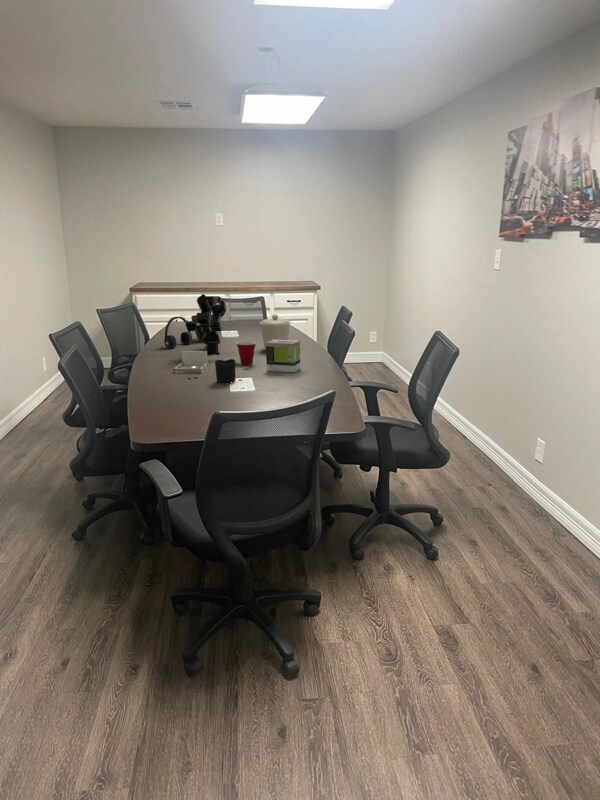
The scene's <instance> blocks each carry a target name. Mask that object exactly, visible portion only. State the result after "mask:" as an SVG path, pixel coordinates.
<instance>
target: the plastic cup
mask: <svg viewBox="0 0 600 800" xmlns="http://www.w3.org/2000/svg"><path fill="white" fill-rule="evenodd" d="M235 344H236V346H237V350H238V355H239V359H240V363H241V366H251V364H252V365H253V361H254V357H255V356H254V355H255V348H256V346H257V342H255V341H246V340H245V341H244V340H243V341H242V340H241V341H236V342H235Z"/></svg>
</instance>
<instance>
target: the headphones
mask: <svg viewBox="0 0 600 800" xmlns="http://www.w3.org/2000/svg"><path fill="white" fill-rule="evenodd" d="M177 319H181V320H182V321H183V322H184V323H185V325H186V322H187V320H186V319H185V318H184V317H182V316H173V317H171V318H170V319H169V320H168V322H167V324H166V326H165V330H164V339H163V343H164V346H165V347H166V348H168V349H174V348H176V347H177V339H176V337H175V336H174V335H173V334H172V335H171V334H169V335H168V332H169V327H170V325H171V323H172V322H173V321H174V320H177ZM191 332H192V331H188V330H187V331H183V332H182V333H180V343H181V344H182V345H190V344H191V342H192V341H193V335H192V333H191Z"/></svg>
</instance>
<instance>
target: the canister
mask: <svg viewBox="0 0 600 800" xmlns="http://www.w3.org/2000/svg"><path fill="white" fill-rule="evenodd" d="M291 323H292V322H291V321H290V320H288V319H286V318H280V317H279V315H278V314H272V315H271V318H266V319H262V320H261V321H260V322H259V324H260V328H261V333H262V334H261V335H262V341H263V346H264V347H263V348H264V349H265V350H266V343H267V342H269V341H271V340H289V335H290V325H291Z"/></svg>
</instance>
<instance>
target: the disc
mask: <svg viewBox="0 0 600 800" xmlns="http://www.w3.org/2000/svg"><path fill="white" fill-rule="evenodd" d="M183 369H200V368H199V365H186V366H183Z"/></svg>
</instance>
